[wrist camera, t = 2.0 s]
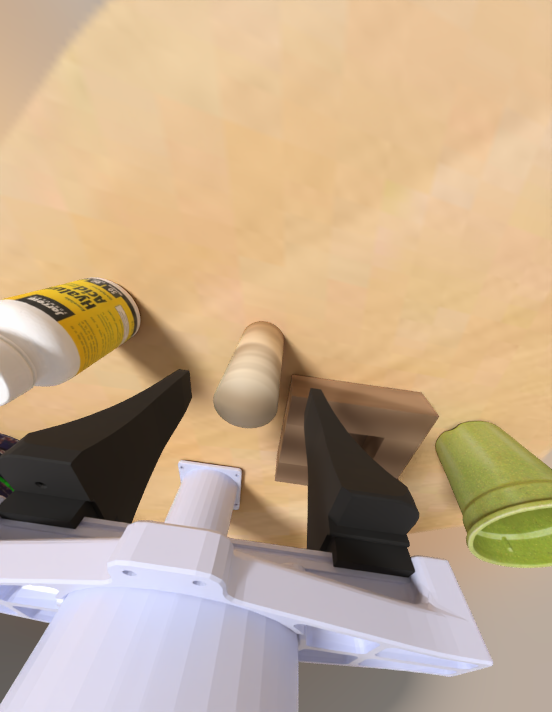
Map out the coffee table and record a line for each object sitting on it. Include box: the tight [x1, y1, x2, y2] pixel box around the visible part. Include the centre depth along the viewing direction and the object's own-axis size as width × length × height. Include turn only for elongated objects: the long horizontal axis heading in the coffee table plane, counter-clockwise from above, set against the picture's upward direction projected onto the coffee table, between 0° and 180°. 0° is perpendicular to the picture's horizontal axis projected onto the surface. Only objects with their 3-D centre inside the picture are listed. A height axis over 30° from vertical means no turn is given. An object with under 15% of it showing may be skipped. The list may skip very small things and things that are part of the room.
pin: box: [213, 321, 284, 428], centre depth 16 cm, size 4×4×8 cm
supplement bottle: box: [0, 278, 140, 406], centre depth 15 cm, size 5×5×10 cm
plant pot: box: [435, 421, 552, 568], centre depth 20 cm, size 9×9×9 cm
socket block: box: [275, 375, 439, 486], centre depth 23 cm, size 12×12×3 cm
